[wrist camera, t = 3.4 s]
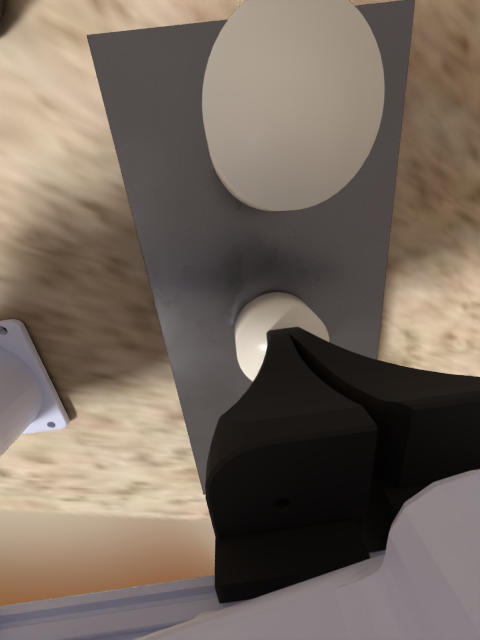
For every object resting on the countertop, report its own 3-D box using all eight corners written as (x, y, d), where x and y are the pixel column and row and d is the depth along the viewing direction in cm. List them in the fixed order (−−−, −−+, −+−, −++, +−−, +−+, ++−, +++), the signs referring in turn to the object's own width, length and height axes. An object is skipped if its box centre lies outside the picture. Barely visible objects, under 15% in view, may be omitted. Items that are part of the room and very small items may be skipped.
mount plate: (206, 455, 20) (203, 494, 17) (119, 79, 11) (86, 35, 8) (344, 436, 20) (364, 471, 17) (368, 51, 11) (415, -1, 9)
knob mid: (236, 344, 16) (242, 394, 12) (228, 282, 15) (230, 312, 10) (298, 336, 16) (328, 382, 12) (297, 273, 15) (330, 299, 10)
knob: (218, 217, 11) (216, 219, 6) (202, 100, 9) (185, -9, 5) (312, 206, 11) (376, 200, 6) (311, 87, 9) (394, -31, 5)
